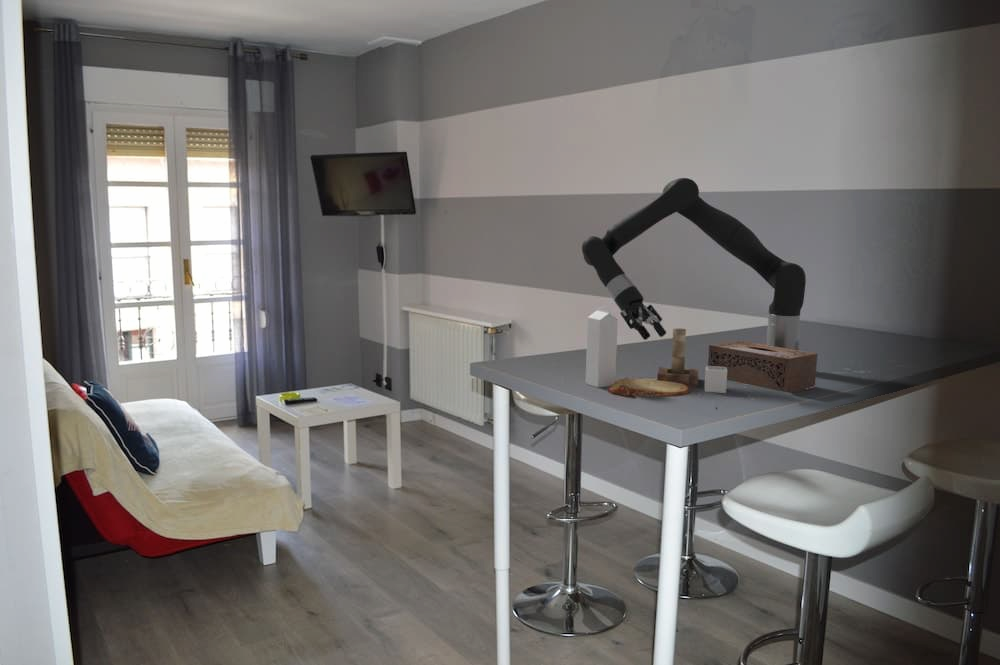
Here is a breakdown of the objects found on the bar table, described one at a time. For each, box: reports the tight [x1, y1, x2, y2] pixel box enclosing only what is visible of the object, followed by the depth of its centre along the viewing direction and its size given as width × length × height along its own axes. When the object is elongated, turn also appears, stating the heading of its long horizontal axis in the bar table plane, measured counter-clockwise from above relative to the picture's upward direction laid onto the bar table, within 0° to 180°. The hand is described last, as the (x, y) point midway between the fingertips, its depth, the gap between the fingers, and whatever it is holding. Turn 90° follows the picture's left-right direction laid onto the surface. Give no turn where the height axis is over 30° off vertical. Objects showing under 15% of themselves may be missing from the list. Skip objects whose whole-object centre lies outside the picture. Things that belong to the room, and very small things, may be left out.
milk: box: [585, 305, 618, 388], centre depth 220 cm, size 6×6×22 cm
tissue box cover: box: [707, 340, 818, 394], centre depth 228 cm, size 26×14×10 cm, turn 38°
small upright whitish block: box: [704, 365, 728, 394], centre depth 215 cm, size 6×6×7 cm
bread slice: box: [607, 376, 691, 399], centre depth 213 cm, size 18×18×4 cm
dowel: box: [671, 328, 687, 374], centre depth 224 cm, size 4×4×15 cm
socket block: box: [656, 366, 699, 388], centre depth 225 cm, size 11×11×4 cm
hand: (655, 336), depth 228 cm, fingers open, 8 cm apart
